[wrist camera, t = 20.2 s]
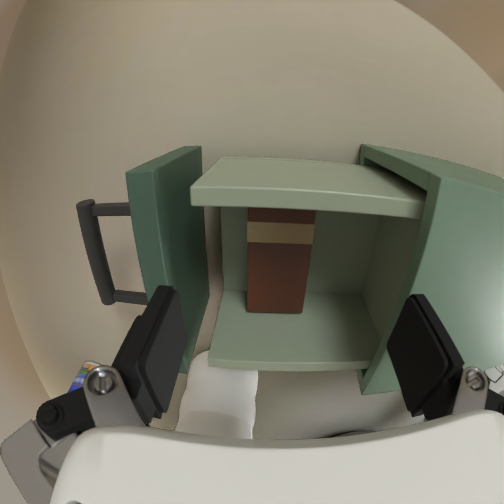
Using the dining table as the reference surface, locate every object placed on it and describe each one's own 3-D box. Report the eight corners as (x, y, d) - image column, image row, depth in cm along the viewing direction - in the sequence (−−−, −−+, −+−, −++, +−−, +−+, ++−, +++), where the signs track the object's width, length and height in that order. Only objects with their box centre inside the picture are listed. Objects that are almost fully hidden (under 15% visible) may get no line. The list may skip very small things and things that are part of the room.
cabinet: (335, 299, 22) (361, 395, 14) (360, 143, 16) (441, 177, 8) (462, 296, 21) (507, 362, 13) (499, 177, 15) (574, 220, 7)
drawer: (133, 289, 22) (92, 355, 15) (109, 153, 16) (32, 183, 9) (362, 300, 21) (390, 375, 14) (391, 158, 15) (461, 192, 9)
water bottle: (224, 391, 29) (196, 586, 7) (178, 360, 27) (123, 578, 5) (272, 371, 27) (262, 602, 5) (225, 335, 25) (181, 609, 3)
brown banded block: (249, 287, 19) (246, 311, 17) (250, 174, 16) (246, 186, 13) (299, 289, 19) (303, 313, 17) (311, 177, 16) (319, 189, 13)
